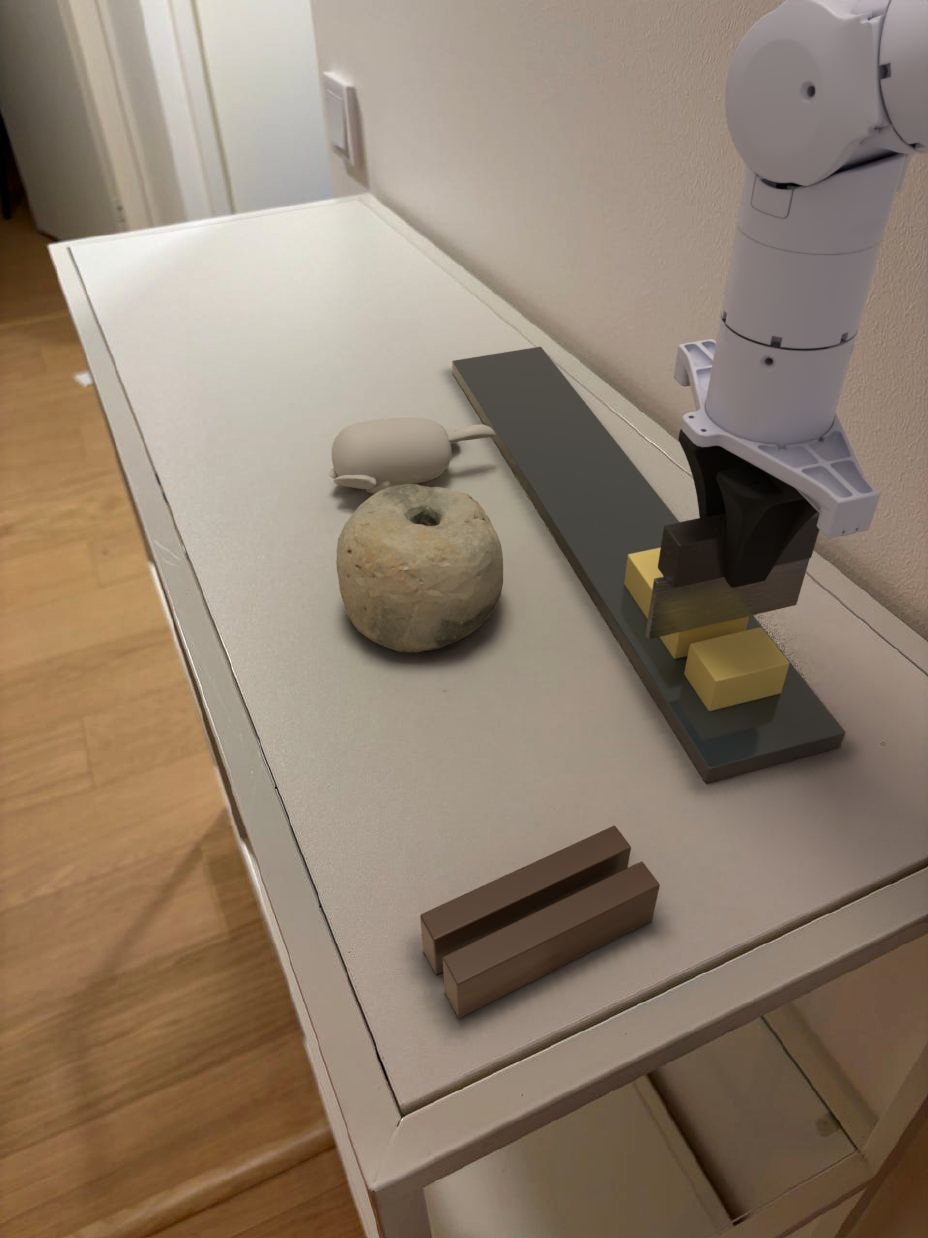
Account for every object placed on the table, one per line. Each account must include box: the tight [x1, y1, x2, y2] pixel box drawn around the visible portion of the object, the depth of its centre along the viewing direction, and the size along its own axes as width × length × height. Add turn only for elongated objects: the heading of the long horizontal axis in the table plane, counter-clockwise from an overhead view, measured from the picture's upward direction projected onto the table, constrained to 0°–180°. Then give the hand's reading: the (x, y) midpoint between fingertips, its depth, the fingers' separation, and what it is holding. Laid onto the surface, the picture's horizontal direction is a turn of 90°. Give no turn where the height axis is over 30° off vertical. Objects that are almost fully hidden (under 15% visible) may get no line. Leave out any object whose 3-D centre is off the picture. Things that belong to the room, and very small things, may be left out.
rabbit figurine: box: [328, 417, 496, 495], centre depth 70 cm, size 6×5×12 cm
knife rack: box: [419, 825, 661, 1019], centre depth 43 cm, size 4×10×3 cm, turn 117°
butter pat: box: [684, 626, 790, 711], centre depth 53 cm, size 3×4×2 cm
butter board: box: [451, 346, 847, 784], centre depth 67 cm, size 46×8×1 cm, turn 17°
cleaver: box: [646, 512, 820, 639], centre depth 51 cm, size 2×9×7 cm, turn 107°
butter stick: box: [624, 548, 749, 659], centre depth 58 cm, size 7×4×2 cm, turn 17°
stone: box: [335, 483, 504, 654], centre depth 58 cm, size 10×10×10 cm
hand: (734, 565), depth 51 cm, fingers closed on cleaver, 2 cm apart
